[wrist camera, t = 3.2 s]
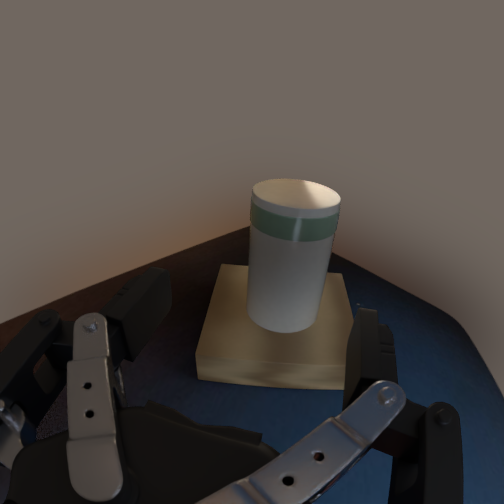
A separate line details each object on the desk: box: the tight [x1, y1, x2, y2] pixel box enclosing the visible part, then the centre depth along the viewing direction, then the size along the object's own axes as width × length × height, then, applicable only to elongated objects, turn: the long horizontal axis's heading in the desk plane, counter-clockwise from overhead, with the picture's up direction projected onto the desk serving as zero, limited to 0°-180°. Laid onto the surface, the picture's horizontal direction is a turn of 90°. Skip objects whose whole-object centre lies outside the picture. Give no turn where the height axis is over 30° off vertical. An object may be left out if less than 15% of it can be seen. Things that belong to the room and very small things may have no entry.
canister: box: [246, 179, 341, 333], centre depth 24 cm, size 6×6×10 cm
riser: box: [195, 264, 354, 390], centre depth 27 cm, size 12×12×3 cm
